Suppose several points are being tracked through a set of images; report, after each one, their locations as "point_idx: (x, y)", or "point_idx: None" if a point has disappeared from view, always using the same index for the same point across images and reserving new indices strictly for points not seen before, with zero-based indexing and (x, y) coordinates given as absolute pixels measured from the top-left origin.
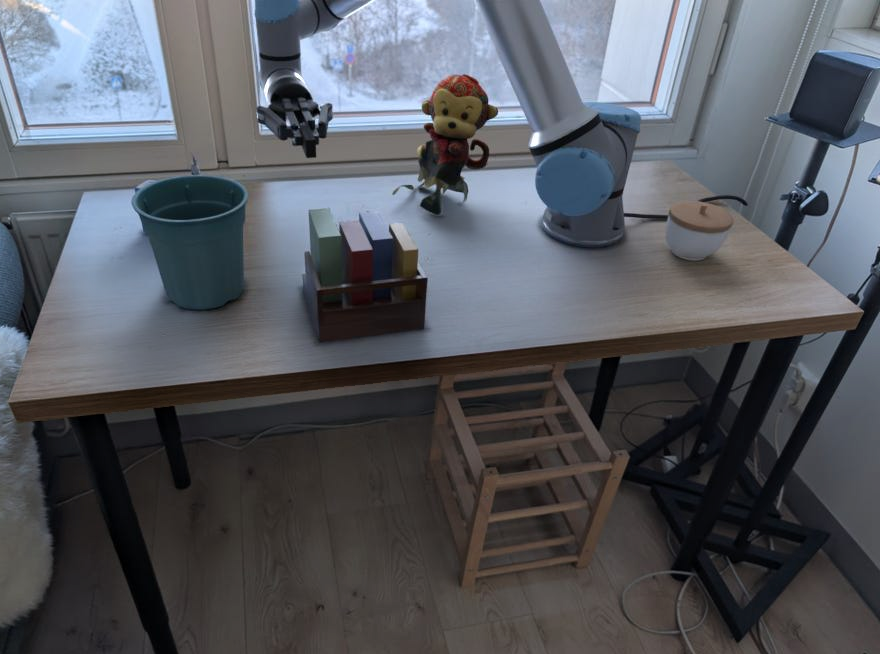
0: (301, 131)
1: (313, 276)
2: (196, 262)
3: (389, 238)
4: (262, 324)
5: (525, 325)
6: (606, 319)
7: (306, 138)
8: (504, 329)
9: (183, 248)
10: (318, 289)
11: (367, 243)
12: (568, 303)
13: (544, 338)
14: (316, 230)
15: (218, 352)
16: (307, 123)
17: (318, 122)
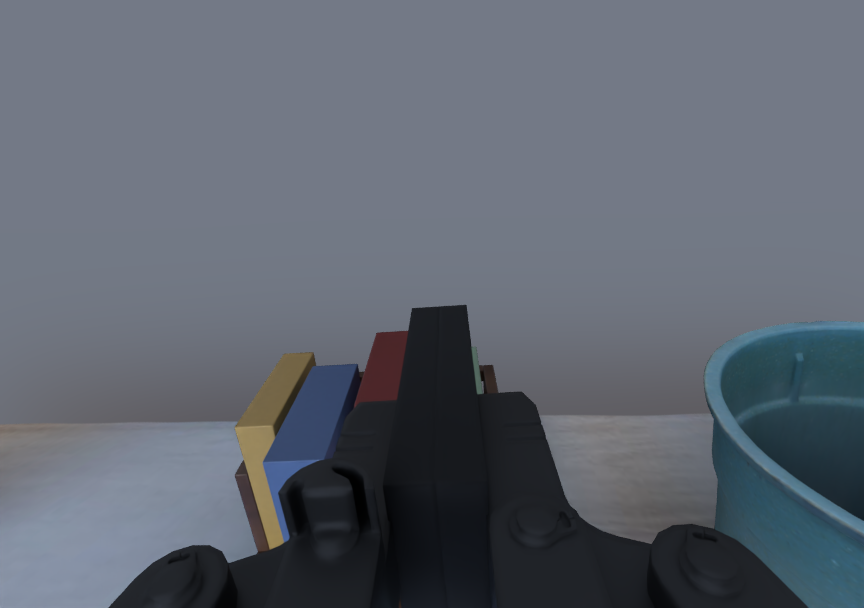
0: (476, 394)
1: (495, 390)
2: (802, 452)
3: (319, 366)
4: (609, 513)
5: (156, 453)
6: (34, 450)
7: (458, 315)
8: (195, 449)
9: (842, 414)
10: (489, 365)
11: (378, 343)
12: (24, 491)
13: (164, 428)
14: (477, 364)
15: (670, 456)
16: (376, 549)
17: (228, 573)
